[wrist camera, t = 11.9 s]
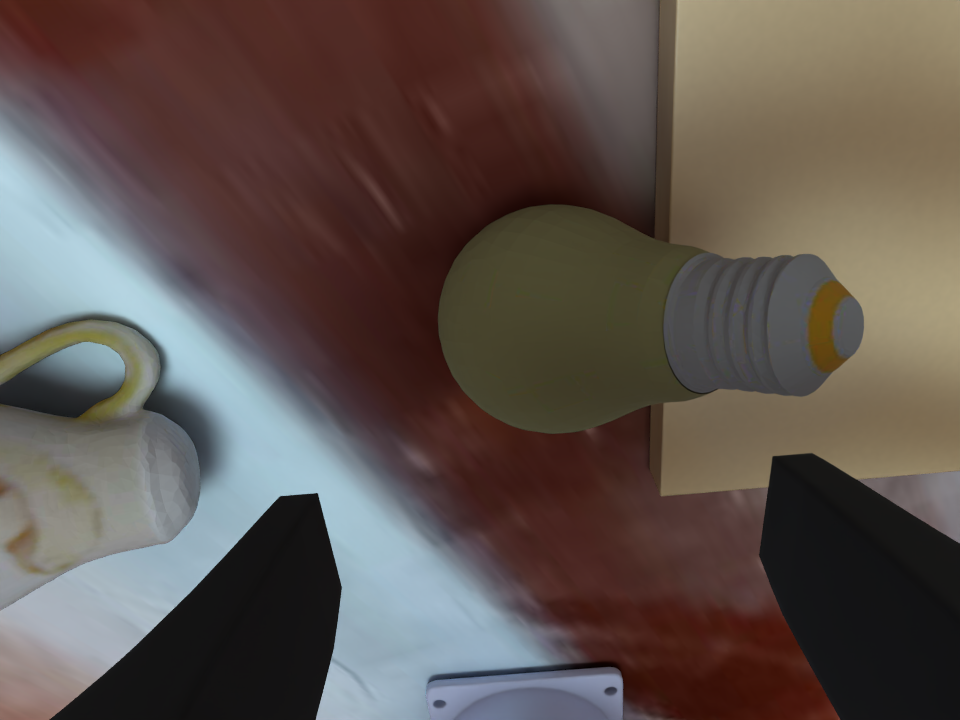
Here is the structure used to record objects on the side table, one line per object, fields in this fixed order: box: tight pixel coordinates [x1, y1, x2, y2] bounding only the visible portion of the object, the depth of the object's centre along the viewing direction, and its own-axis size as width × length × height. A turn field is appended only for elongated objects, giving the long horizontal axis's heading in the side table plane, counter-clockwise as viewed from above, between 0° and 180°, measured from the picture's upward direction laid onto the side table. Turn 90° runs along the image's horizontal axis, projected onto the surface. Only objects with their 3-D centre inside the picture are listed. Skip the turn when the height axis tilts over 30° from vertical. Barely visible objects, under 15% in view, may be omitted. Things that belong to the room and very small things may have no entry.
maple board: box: [649, 0, 960, 496], centre depth 17 cm, size 19×14×2 cm
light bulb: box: [438, 204, 864, 434], centre depth 14 cm, size 6×6×10 cm
